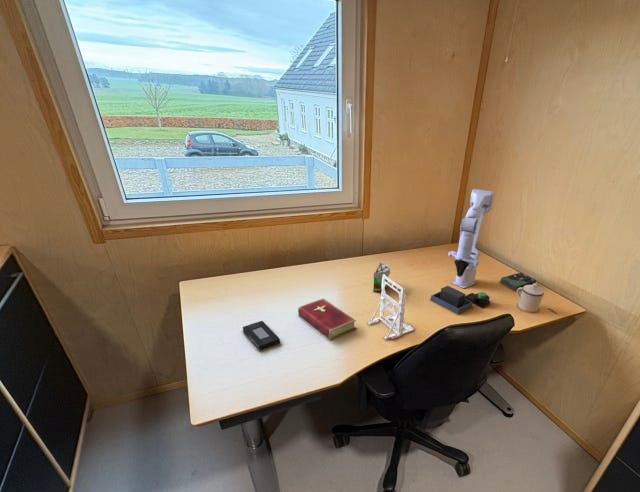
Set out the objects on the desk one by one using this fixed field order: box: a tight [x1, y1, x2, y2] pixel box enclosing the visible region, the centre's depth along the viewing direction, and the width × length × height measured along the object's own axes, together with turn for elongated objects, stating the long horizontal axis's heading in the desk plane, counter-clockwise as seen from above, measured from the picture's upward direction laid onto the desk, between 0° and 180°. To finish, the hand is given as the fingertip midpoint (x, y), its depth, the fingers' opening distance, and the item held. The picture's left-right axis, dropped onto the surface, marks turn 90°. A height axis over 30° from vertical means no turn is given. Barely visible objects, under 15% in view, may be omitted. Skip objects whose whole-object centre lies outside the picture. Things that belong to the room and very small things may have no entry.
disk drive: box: [499, 272, 537, 291], centre depth 179 cm, size 10×3×15 cm
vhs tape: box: [242, 320, 281, 352], centre depth 128 cm, size 8×14×2 cm, turn 40°
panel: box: [465, 292, 492, 309], centre depth 160 cm, size 6×10×4 cm, turn 43°
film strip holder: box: [367, 274, 415, 341], centre depth 135 cm, size 14×14×20 cm
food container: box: [373, 262, 391, 293], centre depth 164 cm, size 12×6×10 cm, turn 168°
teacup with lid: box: [516, 283, 545, 313], centre depth 157 cm, size 12×9×12 cm
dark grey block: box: [440, 285, 467, 308], centre depth 156 cm, size 5×10×6 cm, turn 43°
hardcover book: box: [297, 298, 357, 341], centre depth 139 cm, size 12×21×4 cm, turn 43°
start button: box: [478, 291, 488, 299], centre depth 158 cm, size 4×4×2 cm
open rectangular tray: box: [430, 290, 474, 315], centre depth 158 cm, size 10×15×2 cm
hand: (459, 275), depth 159 cm, fingers closed
